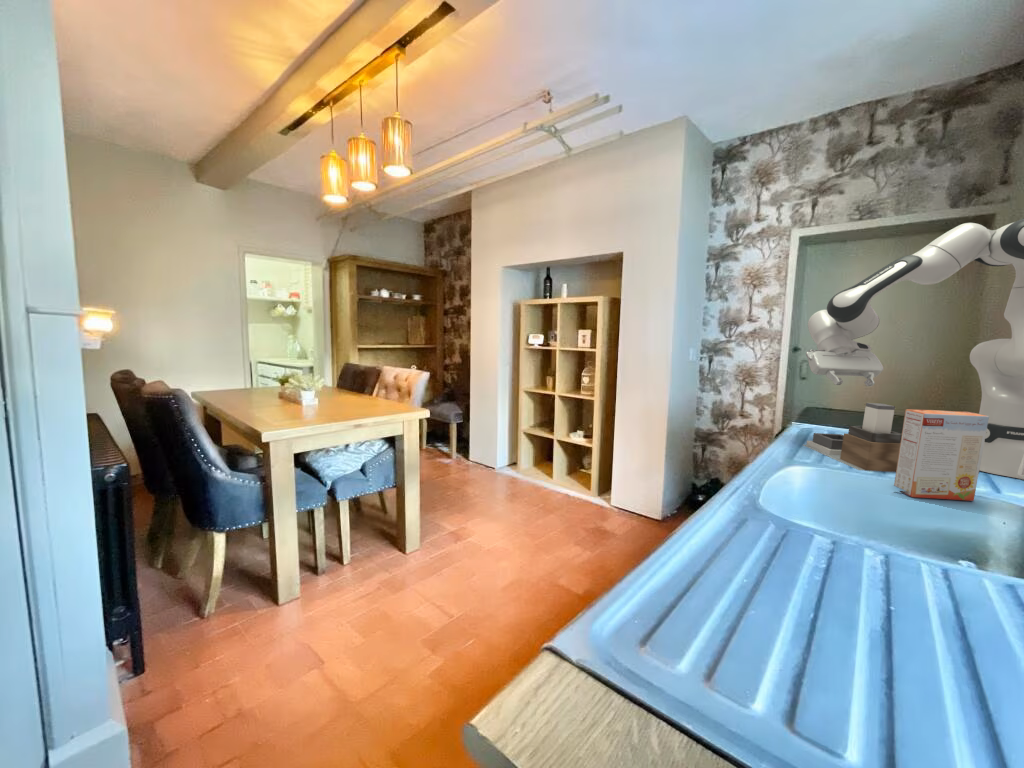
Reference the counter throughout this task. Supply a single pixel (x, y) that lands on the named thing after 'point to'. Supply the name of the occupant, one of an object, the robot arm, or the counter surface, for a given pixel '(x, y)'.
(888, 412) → the plug
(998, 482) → the counter surface
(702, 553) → the counter surface
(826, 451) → the lower jack
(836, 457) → the console board
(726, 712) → the counter surface
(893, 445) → the upper stand
